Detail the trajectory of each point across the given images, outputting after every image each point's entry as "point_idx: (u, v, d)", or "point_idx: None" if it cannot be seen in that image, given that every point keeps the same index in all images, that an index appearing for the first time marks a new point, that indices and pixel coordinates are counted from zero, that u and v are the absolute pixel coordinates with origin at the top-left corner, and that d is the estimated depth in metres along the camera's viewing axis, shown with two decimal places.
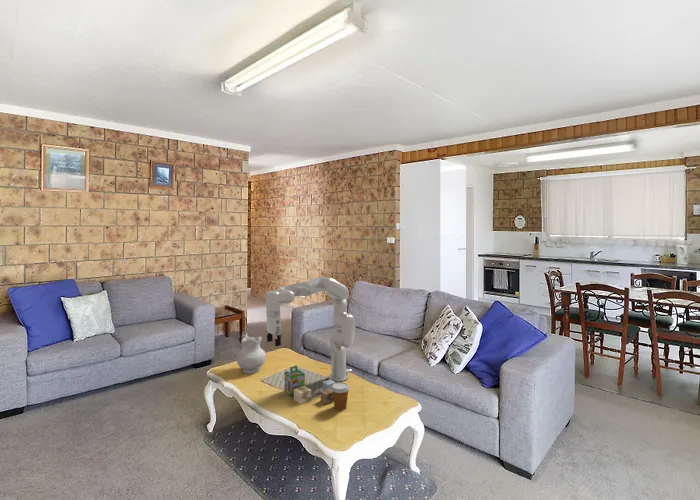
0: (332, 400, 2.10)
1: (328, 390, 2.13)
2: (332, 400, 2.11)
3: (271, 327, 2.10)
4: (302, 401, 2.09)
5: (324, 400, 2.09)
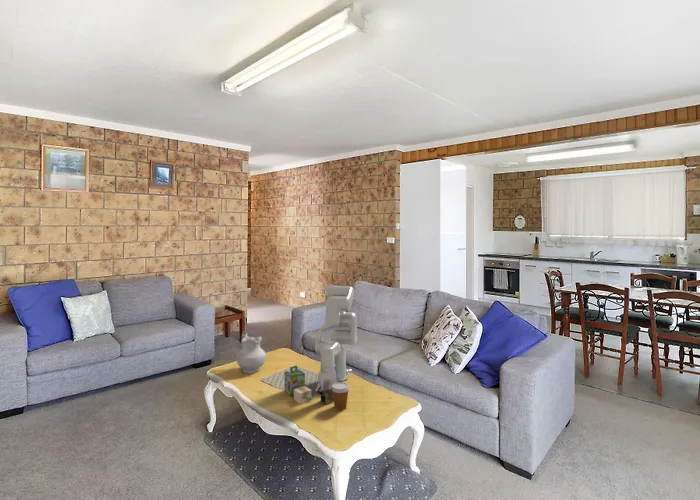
0: (332, 400, 2.10)
1: (328, 390, 2.13)
2: (332, 400, 2.10)
3: (333, 381, 2.11)
4: (302, 401, 2.09)
5: None
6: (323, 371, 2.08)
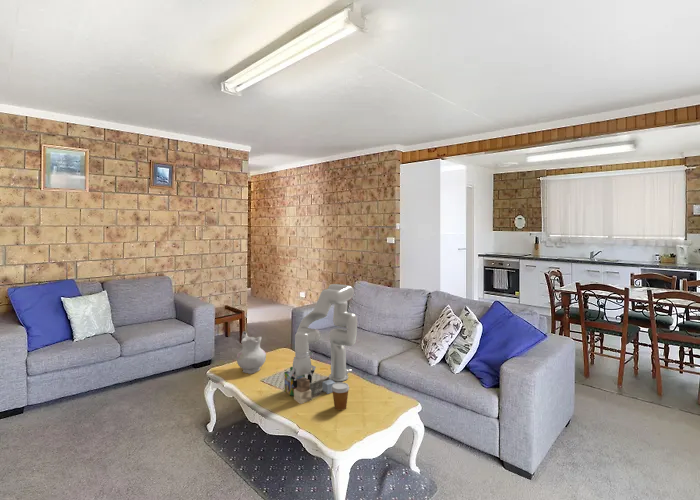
0: (307, 388, 2.12)
1: (304, 378, 2.14)
2: (307, 389, 2.12)
3: (307, 367, 2.12)
4: (302, 401, 2.09)
5: (299, 388, 2.11)
6: (297, 357, 2.09)
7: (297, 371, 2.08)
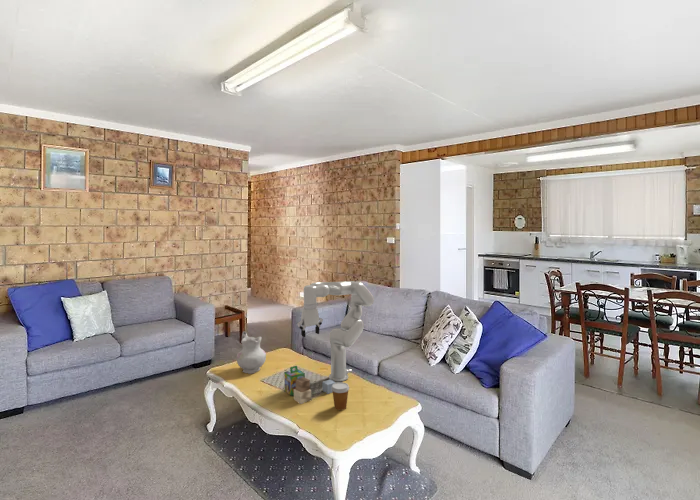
0: (307, 388, 2.12)
1: (303, 378, 2.14)
2: (307, 388, 2.12)
3: (315, 318, 2.25)
4: (302, 401, 2.09)
5: (299, 388, 2.11)
6: (306, 308, 2.22)
7: (306, 321, 2.22)
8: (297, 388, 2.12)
